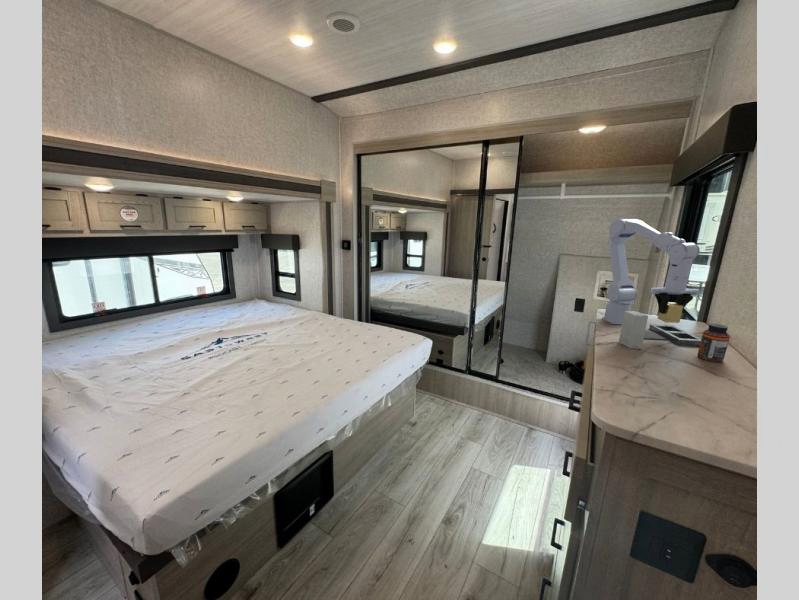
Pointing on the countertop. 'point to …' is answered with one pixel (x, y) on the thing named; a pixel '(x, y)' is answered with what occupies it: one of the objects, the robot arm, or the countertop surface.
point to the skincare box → (633, 329)
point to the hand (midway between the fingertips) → (669, 313)
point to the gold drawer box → (671, 313)
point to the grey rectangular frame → (676, 335)
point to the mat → (653, 336)
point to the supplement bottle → (714, 343)
